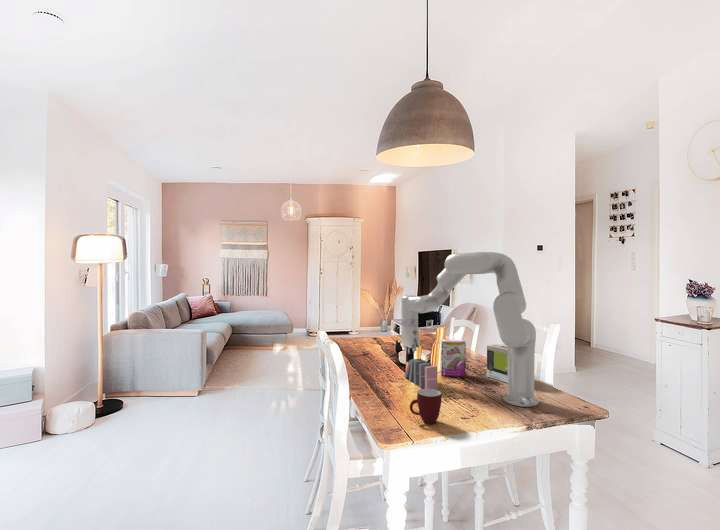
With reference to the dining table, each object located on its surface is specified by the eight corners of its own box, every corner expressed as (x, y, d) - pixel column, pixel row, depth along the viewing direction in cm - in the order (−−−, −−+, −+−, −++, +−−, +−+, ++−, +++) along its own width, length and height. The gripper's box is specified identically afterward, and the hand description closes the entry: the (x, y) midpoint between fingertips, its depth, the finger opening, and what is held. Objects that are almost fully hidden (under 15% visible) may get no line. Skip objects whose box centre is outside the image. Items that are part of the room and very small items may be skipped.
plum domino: (437, 390, 164) (437, 366, 164) (426, 391, 163) (426, 367, 163) (435, 389, 166) (435, 365, 166) (424, 390, 164) (424, 366, 164)
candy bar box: (441, 376, 184) (441, 341, 184) (440, 373, 189) (440, 339, 189) (466, 377, 183) (465, 341, 183) (464, 373, 188) (464, 339, 188)
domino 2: (420, 380, 178) (422, 360, 176) (410, 381, 176) (412, 361, 174) (418, 378, 179) (420, 358, 177) (408, 379, 178) (410, 359, 176)
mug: (413, 428, 128) (413, 397, 128) (407, 418, 136) (407, 389, 136) (445, 426, 129) (444, 395, 129) (437, 416, 137) (436, 387, 137)
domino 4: (431, 386, 169) (431, 363, 169) (421, 388, 167) (420, 364, 167) (429, 385, 171) (429, 362, 170) (419, 387, 169) (419, 363, 169)
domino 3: (425, 383, 173) (425, 361, 173) (415, 384, 172) (415, 362, 172) (423, 382, 175) (423, 360, 175) (413, 383, 173) (413, 361, 173)
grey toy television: (528, 382, 175) (528, 348, 175) (512, 385, 170) (512, 351, 170) (501, 373, 188) (501, 342, 188) (486, 376, 183) (486, 344, 183)
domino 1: (415, 377, 182) (420, 361, 178) (405, 378, 181) (410, 362, 176) (413, 374, 184) (419, 358, 179) (404, 376, 182) (409, 360, 177)
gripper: (425, 324, 176) (425, 365, 176) (409, 319, 190) (409, 357, 190) (409, 325, 173) (410, 366, 174) (395, 320, 187) (395, 358, 188)
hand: (410, 361), depth 182 cm, fingers closed
